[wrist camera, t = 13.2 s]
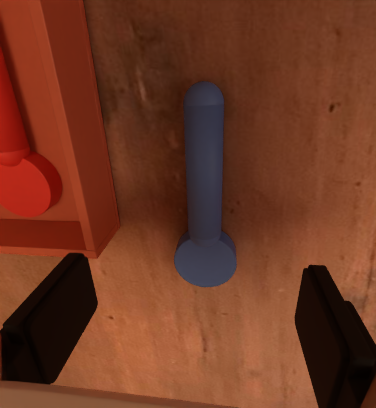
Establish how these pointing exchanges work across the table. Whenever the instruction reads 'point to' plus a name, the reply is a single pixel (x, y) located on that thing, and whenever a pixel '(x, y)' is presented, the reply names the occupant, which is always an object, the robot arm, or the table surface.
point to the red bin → (59, 128)
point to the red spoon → (22, 161)
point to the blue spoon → (204, 191)
